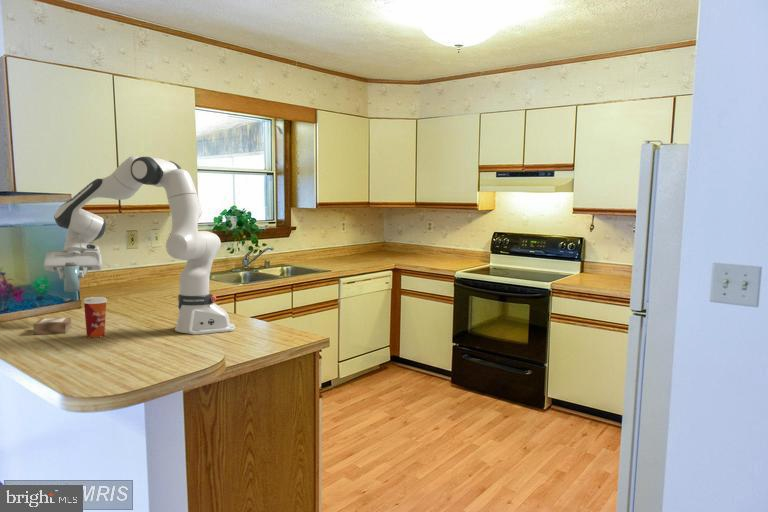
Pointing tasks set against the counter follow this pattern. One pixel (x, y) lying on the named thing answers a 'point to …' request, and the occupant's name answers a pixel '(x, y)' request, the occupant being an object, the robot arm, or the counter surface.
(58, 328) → the base
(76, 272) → the jar
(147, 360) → the counter surface
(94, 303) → the paper cup
